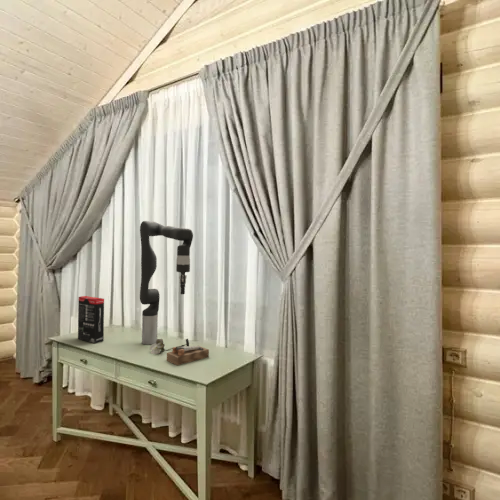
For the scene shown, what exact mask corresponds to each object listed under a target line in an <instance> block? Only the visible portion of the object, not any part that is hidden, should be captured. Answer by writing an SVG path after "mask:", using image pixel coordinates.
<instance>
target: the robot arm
mask: <svg viewBox="0 0 500 500" xmlns="http://www.w3.org/2000/svg"><path fill="white" fill-rule="evenodd" d="M139 236H140V237H139V238H140V248H141V249H140V275H141V276H140V287H139V302H140V303H141V304H142V305H148V307H147V308H145V309H143V310H142V313H141V314H142V315H141V318H142V319H141V321H142V322H141V344H142V345H152V344H154V343H156V340H157V339H158V323H159V322H158V316H159V315H158V314H159V309H160V291H159V289H157V288H149V285H150V281H151V279H152V278H153V275H154V274H155V272H156V270H157V264H158V263H157V255H156V253H155V251H154V249H153V248H152V245H151V242H150V237H157V236H162V237H165V238H166V239H173V240H174V241H182V243H181V244H179V245H177V248H176V249H177V250H176V255H177V256H176V266H175V267H176V270H175V271H176V273H180V274H179V277H178V278H179V284H180V286H179V287H180V295H185V294H186V289H185V288H186V283H187V275H186V273H189V272H191V259H190V258H191V257H190V255H191V252H190V250H191V246H192V243H193V239H194V234H193V231H192V229H190V228H183V227H175V226H171V225H164V224H161V223H158V222H156V221H152V220H151V221H150V220H142V222H141V223H140V226H139Z"/></svg>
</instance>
